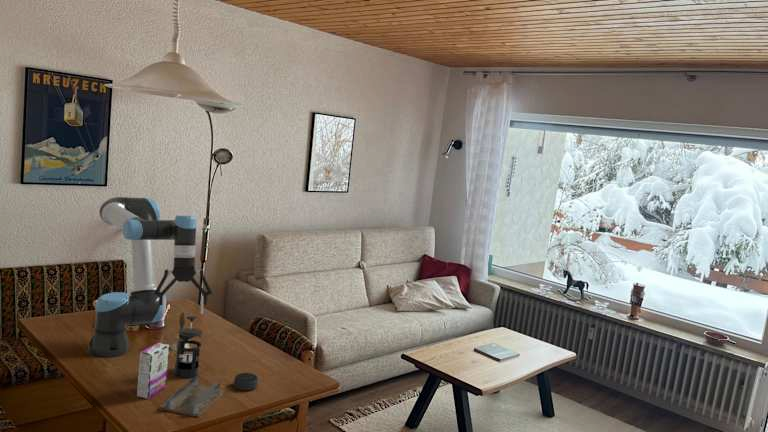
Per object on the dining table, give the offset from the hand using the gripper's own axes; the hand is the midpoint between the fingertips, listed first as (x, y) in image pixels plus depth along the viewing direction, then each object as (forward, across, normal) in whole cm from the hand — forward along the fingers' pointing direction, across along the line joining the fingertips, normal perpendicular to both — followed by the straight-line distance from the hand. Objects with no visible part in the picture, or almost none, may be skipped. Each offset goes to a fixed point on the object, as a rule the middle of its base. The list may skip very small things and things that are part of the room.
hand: (182, 313), depth 217 cm
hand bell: (+21, -2, +36) cm, 42 cm away
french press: (+25, +1, +10) cm, 27 cm away
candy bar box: (+27, -10, -7) cm, 29 cm away
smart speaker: (+28, +23, -1) cm, 37 cm away
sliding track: (+29, +5, -13) cm, 32 cm away
